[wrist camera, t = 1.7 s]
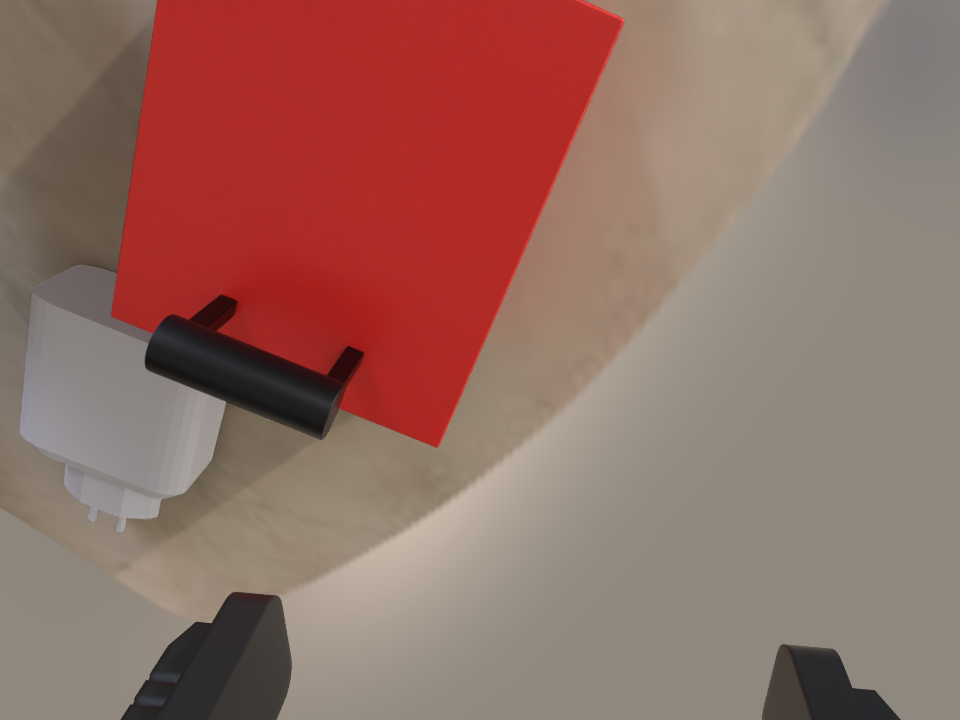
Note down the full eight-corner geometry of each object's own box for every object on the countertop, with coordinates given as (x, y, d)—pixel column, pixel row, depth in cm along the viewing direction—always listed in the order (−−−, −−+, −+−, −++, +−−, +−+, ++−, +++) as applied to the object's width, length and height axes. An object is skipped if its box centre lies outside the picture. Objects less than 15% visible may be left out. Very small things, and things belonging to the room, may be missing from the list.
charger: (58, 472, 44) (84, 259, 38) (199, 527, 45) (250, 326, 38) (3, 521, 40) (21, 291, 33) (159, 581, 41) (208, 366, 34)
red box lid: (441, 438, 29) (411, 528, 24) (121, 309, 28) (22, 374, 23) (624, 19, 22) (635, 22, 17) (195, -170, 21) (73, -225, 16)
